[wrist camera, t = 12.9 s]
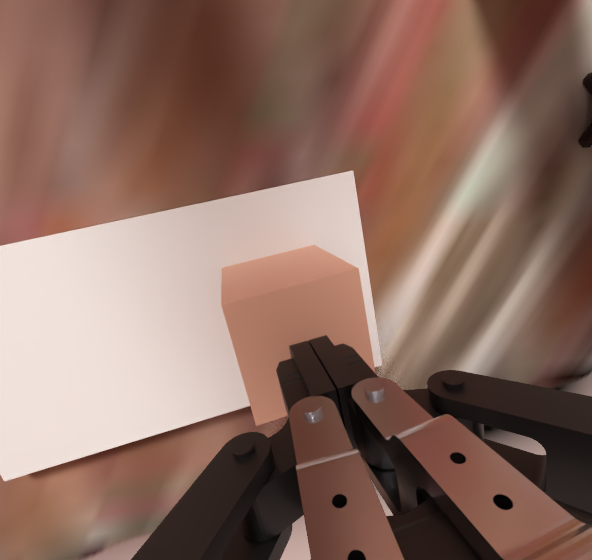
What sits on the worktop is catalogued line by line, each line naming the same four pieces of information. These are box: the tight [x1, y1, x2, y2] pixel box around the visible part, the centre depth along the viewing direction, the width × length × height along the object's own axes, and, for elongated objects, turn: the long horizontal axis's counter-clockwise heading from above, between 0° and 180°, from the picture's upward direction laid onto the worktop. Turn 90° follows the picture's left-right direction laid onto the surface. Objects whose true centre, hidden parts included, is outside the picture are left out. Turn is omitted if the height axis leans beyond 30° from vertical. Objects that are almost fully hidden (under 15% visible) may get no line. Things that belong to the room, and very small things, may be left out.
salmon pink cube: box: [221, 245, 376, 426], centre depth 17 cm, size 6×6×7 cm
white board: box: [0, 171, 382, 481], centre depth 21 cm, size 24×13×2 cm, turn 102°
